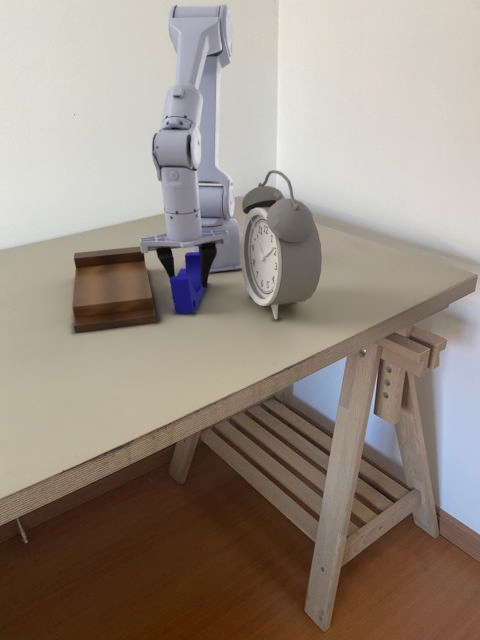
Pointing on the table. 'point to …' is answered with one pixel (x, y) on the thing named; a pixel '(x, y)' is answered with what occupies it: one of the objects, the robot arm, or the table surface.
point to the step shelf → (111, 289)
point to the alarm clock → (278, 247)
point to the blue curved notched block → (187, 285)
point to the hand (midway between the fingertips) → (189, 287)
